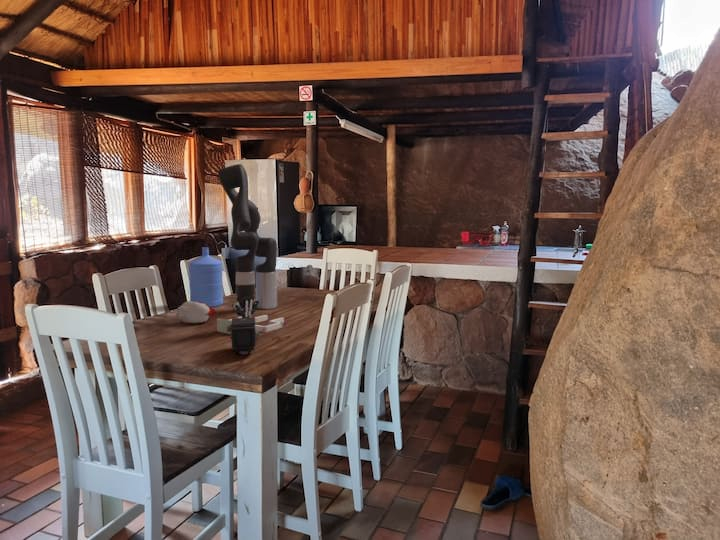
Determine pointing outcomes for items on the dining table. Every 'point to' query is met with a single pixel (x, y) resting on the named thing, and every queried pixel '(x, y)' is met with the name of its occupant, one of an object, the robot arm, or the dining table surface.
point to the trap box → (271, 325)
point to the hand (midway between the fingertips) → (246, 325)
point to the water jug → (206, 280)
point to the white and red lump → (194, 312)
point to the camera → (243, 334)
